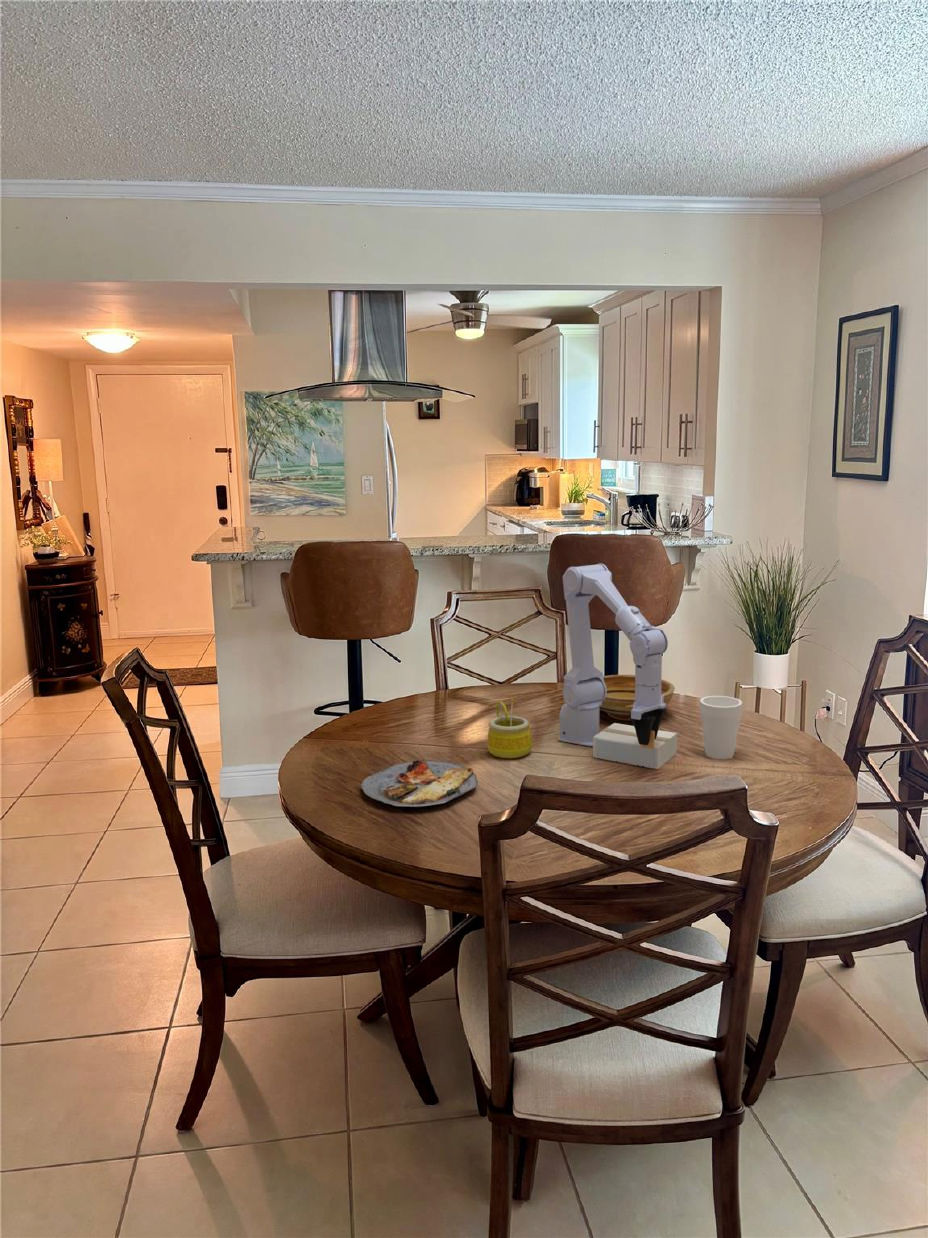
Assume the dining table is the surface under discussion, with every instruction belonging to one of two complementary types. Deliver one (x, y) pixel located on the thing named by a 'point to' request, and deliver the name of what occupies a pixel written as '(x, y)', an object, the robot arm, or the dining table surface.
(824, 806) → the dining table surface
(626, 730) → the carton
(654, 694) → the robot arm
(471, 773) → the food plate
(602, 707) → the wooden bowl
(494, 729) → the yellow plant pot
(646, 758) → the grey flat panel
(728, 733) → the foam cup
